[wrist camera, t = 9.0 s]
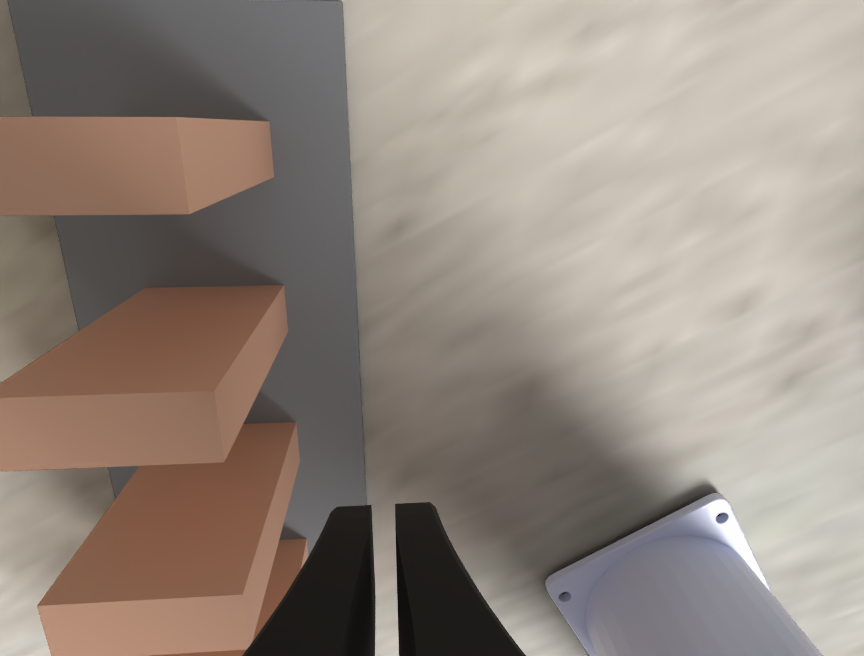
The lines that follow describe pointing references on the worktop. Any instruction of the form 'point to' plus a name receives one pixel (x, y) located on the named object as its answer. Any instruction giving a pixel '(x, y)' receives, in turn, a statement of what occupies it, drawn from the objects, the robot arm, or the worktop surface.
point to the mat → (236, 215)
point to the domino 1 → (128, 164)
